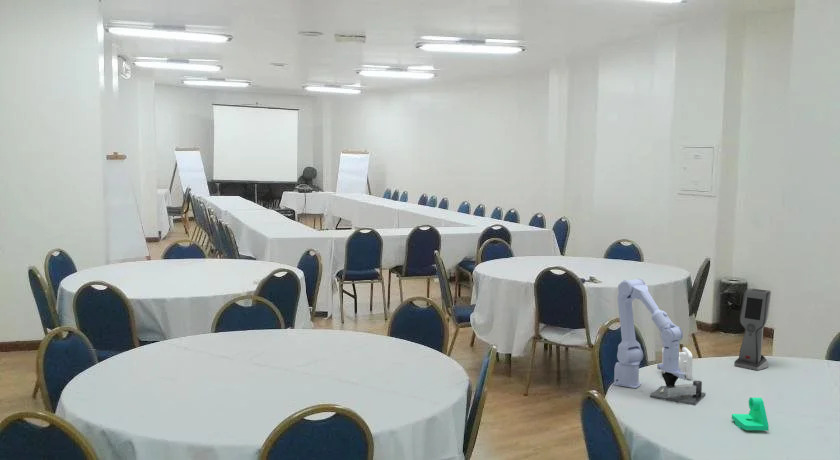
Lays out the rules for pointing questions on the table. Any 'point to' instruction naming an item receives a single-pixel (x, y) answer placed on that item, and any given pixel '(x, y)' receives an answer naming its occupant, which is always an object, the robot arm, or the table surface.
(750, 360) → the thermal camera
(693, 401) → the lid
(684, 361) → the cable organizer
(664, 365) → the robot arm
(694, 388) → the bar
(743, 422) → the camera mount
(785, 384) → the table surface
